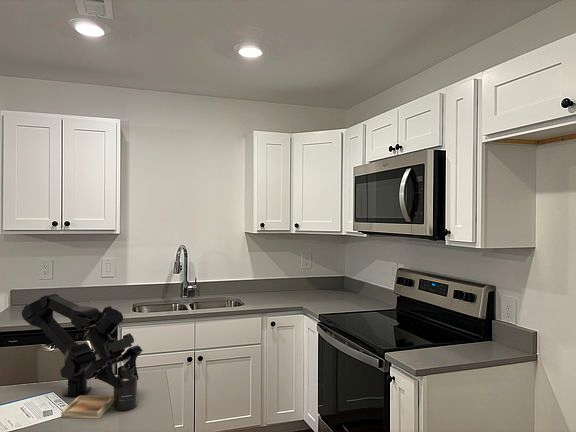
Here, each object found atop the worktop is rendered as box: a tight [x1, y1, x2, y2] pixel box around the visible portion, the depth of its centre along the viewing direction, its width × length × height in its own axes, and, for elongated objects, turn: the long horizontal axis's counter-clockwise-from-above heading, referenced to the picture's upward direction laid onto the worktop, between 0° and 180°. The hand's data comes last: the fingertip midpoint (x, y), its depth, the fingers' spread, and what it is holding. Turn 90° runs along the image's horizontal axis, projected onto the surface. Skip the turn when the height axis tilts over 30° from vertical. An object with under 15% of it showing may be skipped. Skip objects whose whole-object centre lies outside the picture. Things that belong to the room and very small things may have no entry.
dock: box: [60, 395, 113, 420], centre depth 136 cm, size 11×11×2 cm
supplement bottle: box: [112, 364, 138, 412], centre depth 138 cm, size 7×7×12 cm
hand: (128, 384), depth 138 cm, fingers closed on supplement bottle, 7 cm apart
